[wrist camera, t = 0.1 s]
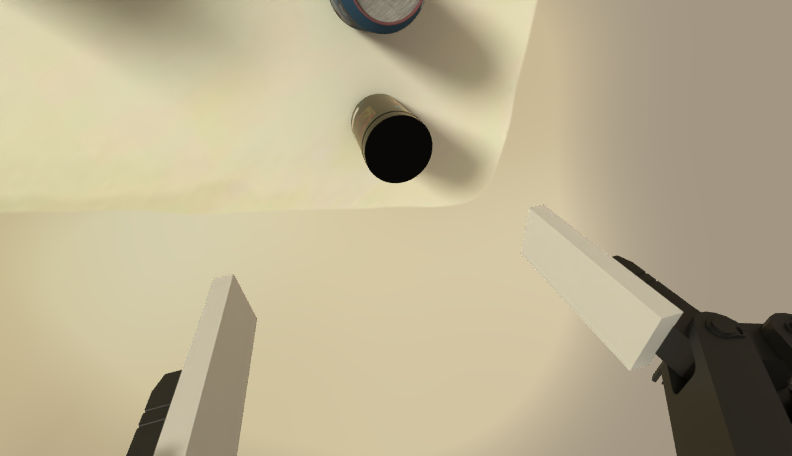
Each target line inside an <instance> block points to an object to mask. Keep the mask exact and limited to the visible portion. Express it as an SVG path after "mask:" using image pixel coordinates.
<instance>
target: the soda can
mask: <svg viewBox="0 0 792 456" xmlns="http://www.w3.org/2000/svg"><path fill="white" fill-rule="evenodd" d="M424 1H425V0H330V2H331V5H332V7H333V9H334V11H335V12H336V14H337V15H338V16H339V17H340V19H341V20H342V21H344V22H345V23H346V24H347V25H349V26H351V27H352V28H355V29H358V30H363V31H368V32H373V33H378V34H390V33H394V32H397V31H400V30H402V29H403V28H405V27H406V26H408V25H409V24H410V23H411V22H412V21H413V20H414V19H415V18H416V16H417V15H418V13H419V12H420V10H421V8H422V6H423V4H424Z"/></svg>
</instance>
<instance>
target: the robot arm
mask: <svg viewBox="0 0 792 456" xmlns="http://www.w3.org/2000/svg"><path fill="white" fill-rule="evenodd" d="M521 254H522V255H523V257H524V258H525V259H526V260H527V261H528V262H529V263H530V264H531V265H532V266H533V267H534V268H535V269H536V271H538V273H539V274H540V275H541V276H542V277H543V278H544V279H545V280H546V281H547V282H548V283H549V284H550V285H551V287H552V288H553V289H554V290H555V291H556V292H557V293H558V294H559V295H560V296H561V297H562V298H563V299H564V301H565V302H566V303H567V304H568V305H569V306H570V307H571V308H572V309H573V310H574V311H575V312H576V313H577V314H578V316H579V317H580V318H582V320H583V321H584V322H585V323H586V324H587V325H588V326H589V327H590V329H591V330H592V331H593V332H594V333H595V334H596V335H597V336H598V337H599V338H600V339H601V340H602V341H603V342H604V344H605V345H606V346H607V347H608V348H609V349H610V350H611V351H612V352H613V353H614V354H615V355H616V356H617V358H618V359H619V360H620V361H621V362H622V363H623V364H624V365H625V366H626V367H627V368H628V369H629V370H633V369H636V368H639V367H643V366H646V365H648V364H649V363H650V362H651V360H652V359H653V357H654V355H655V354H656V355H657V356H658V357H660V358H661V359H662V360H663V361H662V363H661V364H660V366H659V367H658V369H657V370H656V371H655V373H654V374H653V377H652V381H654V382H656V381H657V380H658V379H659V377H660V376H661V374H662V379H663V382H662V384H663V385H664V389H665V394H666V400H667V405H668V410H669V416H670V421H671V426H672V431H673V437H674V442H675V448H676V453H677V456H792V314H787V313H775V314H773V315H772V316H770V317H769V318H768V319H767V320H766V322H765V323H764V324H751V323H748V324H747V323H737V322H736V321H734V320H732V319H730V318H728V317H726V316H723V315H720V314H717V313H712V312H699V311H698V310H697V309H695V308H694V307H692V306H691V305H690V304H688V303H687V302H686V301H684V300H683V299H682V298H680V297H679V296H678V295H676V294H675V293H673V292H672V291H671V290H669V289H668V288H667V287H665V286H664V285H663V284H661V283H660V282H659V281H656V279H654V278H653V277H651V276H650V275H649V274H646V273H645V271H644V270H642V269H641V268H640V267H638V266H637V265H635V264H634V263H633V262H631V261H628V260H626V259H624V258H622V257H620V256H613V257H611V256H610V255H609V254H607V253H606V252H605V251H603V250H602V249H601V248H600V247H598V246H597V245H596V244H594V243H593V242H592V241H590V240H589V239H588V238H587V237H585V236H584V235H583V234H581V233H580V232H579V231H577V230H576V229H575V228H574V227H572V226H571V225H570V224H568V223H567V222H566V221H564V220H563V219H562V218H561V217H559V216H558V215H557V214H555V213H554V212H553V211H552V210H550V209H549V208H547V207H546V206H545V205H540V206H535V207H531V208H529V211H528V217H527V222H526V227H525V233H524V239H523V244H522V249H521ZM256 321H257V318H256V316H255V314H254V312H253V310H252V308H251V306H250V304H249V302H248V301H247V299H246V297H245V295H244V293H243V291H242V289H241V287H240V285H239V283H238V282H237V280H236V278H235V276H234V274H230V275H226V276H221V277H217V278H213V280H212V283H211V286H210V289H209V292H208V295H207V298H206V301H205V305H204V307H203V310H202V313H201V316H200V319H199V322H198V325H197V328H196V331H195V334H194V337H193V340H192V343H191V346H190V349H189V352H188V354H187V357H186V360H185V363H184V366H183V369H182V370H180V371H176V372H172V373H168V374H165V375H164V376H163V378H162V379H161V380H160V382H159V383H158V384H157V386H156V387H155V388H154V390H153V391H152V393H151V395H150V398H149V400H148V403H147V405H146V408H145V413H143V415H142V418H141V420H140V423H139V428H138V429H137V430H136V433H135V435H134V438H133V440H132V443H131V445H130V448H129V450H128V453H127V455H126V456H237V451H238V444H239V437H240V431H241V423H242V417H243V410H244V403H245V397H246V389H247V383H248V376H249V369H250V362H251V355H252V349H253V341H254V335H255V328H256Z"/></svg>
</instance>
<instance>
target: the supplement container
mask: <svg viewBox="0 0 792 456" xmlns="http://www.w3.org/2000/svg"><path fill="white" fill-rule="evenodd" d="M351 126H352V131H353V134H354V136H355V138H356V141H357V143H358V145H359V147H360V149H361V152H362V155H363V158H364V160H365V162H366V164H367V166H368V168H369V170H370V171H371V172H372V173H373V174H374V175H375V176H376V177H377V178H379V179H380V180H383V181H385V182H389V183H402V182H406V181H408V180H411V179H413V178H414V177H416V176H417V175H419V174H420V173H421V172H422V171H423V170H424V168H425V167H426V165H427V164H428V162H429V160H430V157H431V154H432V138H431V135H430V132H429V130H428V129H427V127H426V126H425V125H424V124H423V123H422V122H421V121H420V120H419V119H418V118H417V117H416V116H414V115H413V114H411V113H410V112H409V111H408V110H407V109H406V108H405V107H403V106H402V105H401V104H400V103H399V102H398V101H397V100H395V99H394V98H392V97H391V96H388V95H385V94H374V95H370V96H368V97H366V98H364V99H363V100H362V101H361V102H360V103H359V104H358V105H357V106H356V108H355V110H354V112H353V115H352V120H351Z"/></svg>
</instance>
